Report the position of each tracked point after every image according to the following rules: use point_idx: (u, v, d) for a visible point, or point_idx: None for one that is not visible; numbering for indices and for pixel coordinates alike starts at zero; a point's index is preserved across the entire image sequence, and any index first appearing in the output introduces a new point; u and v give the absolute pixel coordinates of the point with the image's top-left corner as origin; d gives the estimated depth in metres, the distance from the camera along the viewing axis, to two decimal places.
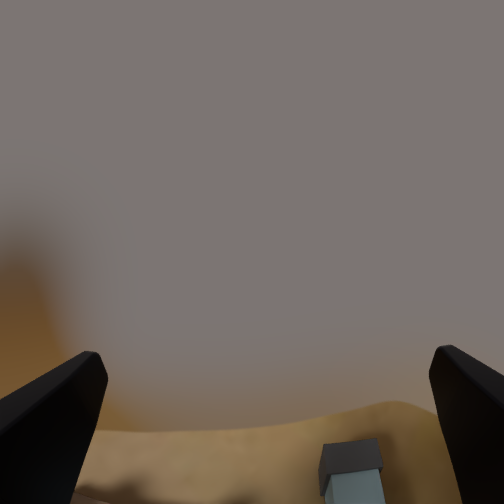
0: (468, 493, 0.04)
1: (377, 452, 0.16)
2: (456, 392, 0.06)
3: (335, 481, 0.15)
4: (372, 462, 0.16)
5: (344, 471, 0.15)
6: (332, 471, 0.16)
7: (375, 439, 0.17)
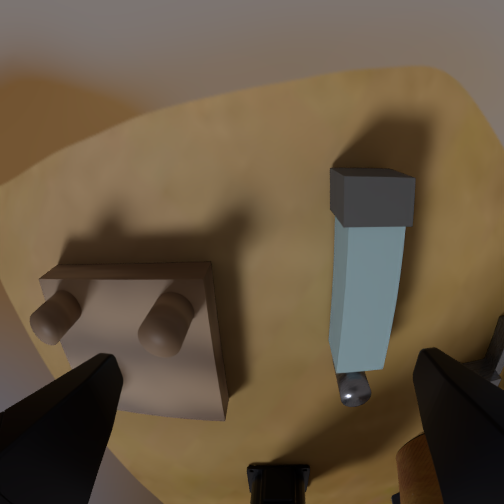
0: (452, 499, 0.04)
1: (411, 202, 0.14)
2: (438, 396, 0.06)
3: (352, 236, 0.15)
4: (401, 217, 0.14)
5: (365, 225, 0.15)
6: (350, 224, 0.15)
7: (413, 179, 0.14)
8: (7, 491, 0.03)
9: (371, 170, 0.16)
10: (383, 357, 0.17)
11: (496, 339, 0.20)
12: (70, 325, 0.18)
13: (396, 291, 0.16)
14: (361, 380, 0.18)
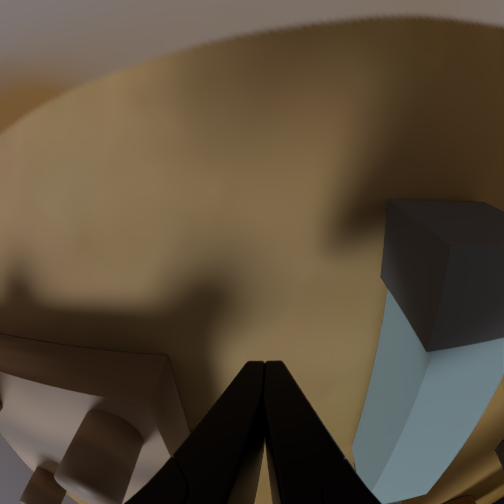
0: None
1: None
2: (264, 414, 0.06)
3: (436, 360, 0.06)
4: None
5: (467, 342, 0.06)
6: (442, 344, 0.06)
7: None
8: None
9: (467, 210, 0.07)
10: (431, 485, 0.09)
11: None
12: None
13: (477, 420, 0.07)
14: None
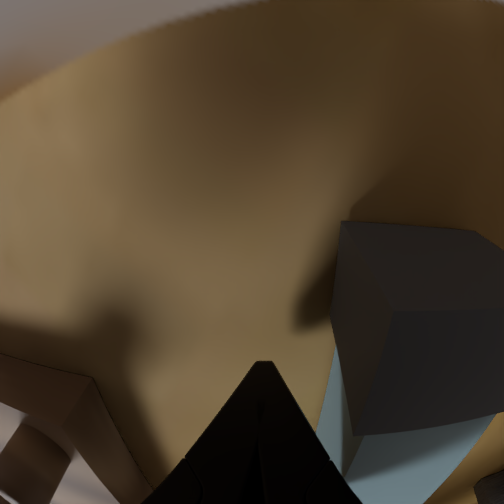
0: None
1: None
2: None
3: (372, 440, 0.05)
4: None
5: (415, 427, 0.04)
6: (377, 428, 0.04)
7: None
8: None
9: (447, 243, 0.06)
10: None
11: None
12: None
13: (432, 492, 0.06)
14: None
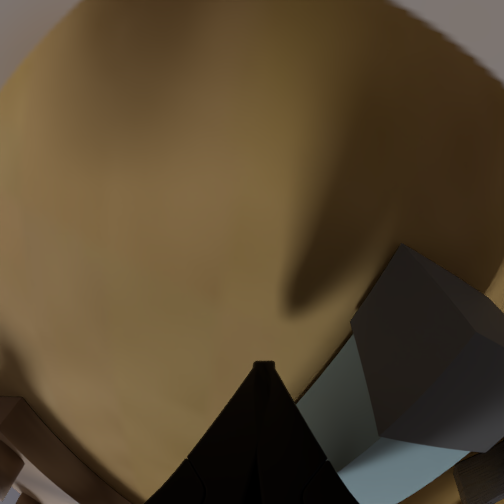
0: None
1: None
2: None
3: (379, 445, 0.05)
4: (485, 439, 0.04)
5: (423, 441, 0.05)
6: (399, 434, 0.04)
7: None
8: None
9: (478, 298, 0.06)
10: None
11: None
12: None
13: None
14: None
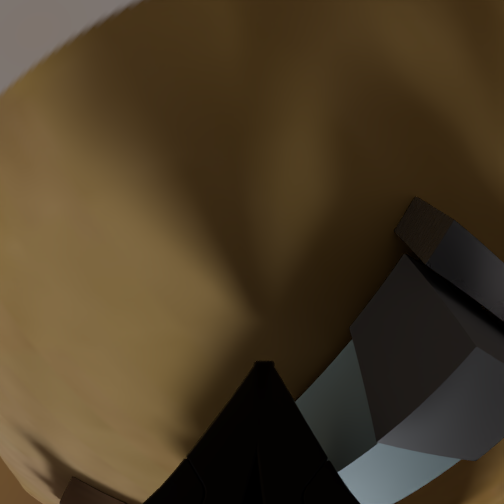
0: None
1: None
2: None
3: (375, 451, 0.05)
4: (477, 448, 0.05)
5: (418, 448, 0.05)
6: (396, 440, 0.05)
7: None
8: None
9: (475, 311, 0.06)
10: None
11: None
12: None
13: None
14: None
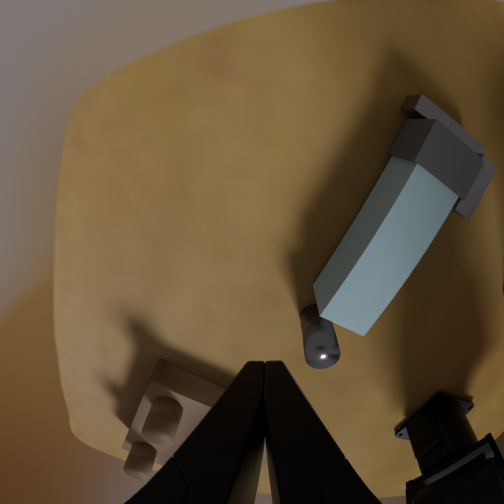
0: None
1: (472, 179, 0.13)
2: (264, 414, 0.06)
3: (415, 174, 0.13)
4: (460, 186, 0.13)
5: (432, 171, 0.13)
6: (421, 161, 0.13)
7: (482, 162, 0.13)
8: None
9: None
10: (372, 322, 0.16)
11: None
12: (148, 459, 0.23)
13: (421, 255, 0.15)
14: (310, 340, 0.17)
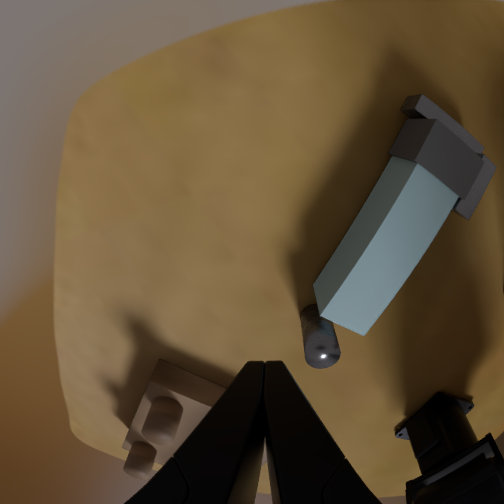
0: None
1: (472, 179, 0.13)
2: (264, 414, 0.06)
3: (415, 174, 0.13)
4: (460, 186, 0.13)
5: (432, 171, 0.13)
6: (422, 161, 0.13)
7: (482, 162, 0.13)
8: None
9: None
10: (372, 322, 0.16)
11: None
12: (148, 458, 0.23)
13: (421, 254, 0.15)
14: (311, 339, 0.17)
